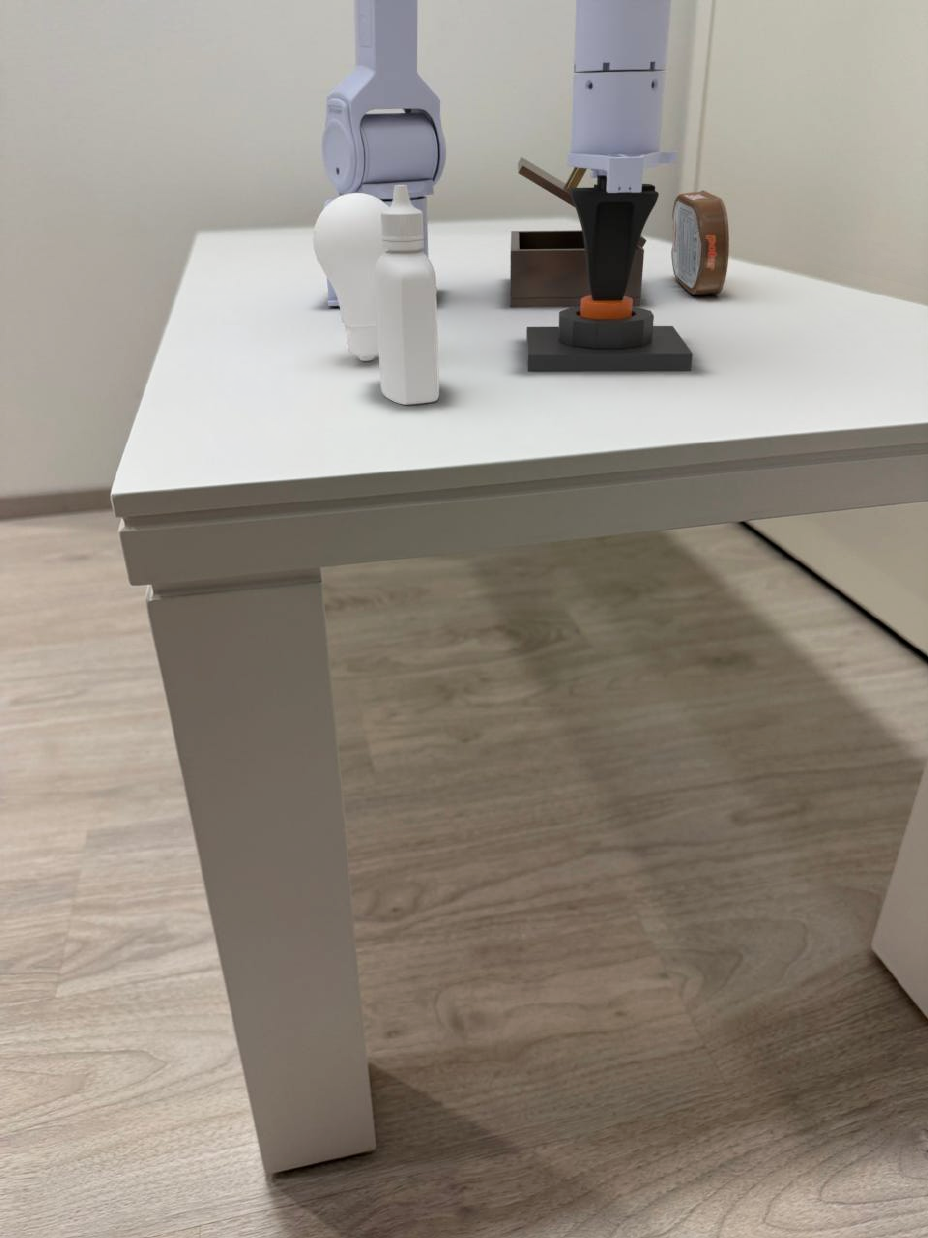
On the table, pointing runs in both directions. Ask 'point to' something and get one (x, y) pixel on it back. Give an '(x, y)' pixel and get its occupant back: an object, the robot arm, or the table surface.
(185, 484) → the table surface
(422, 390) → the eye dropper bottle
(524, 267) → the box
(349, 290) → the lightbulb
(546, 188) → the lid
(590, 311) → the button
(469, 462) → the table surface
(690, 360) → the switch block
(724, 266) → the tin
